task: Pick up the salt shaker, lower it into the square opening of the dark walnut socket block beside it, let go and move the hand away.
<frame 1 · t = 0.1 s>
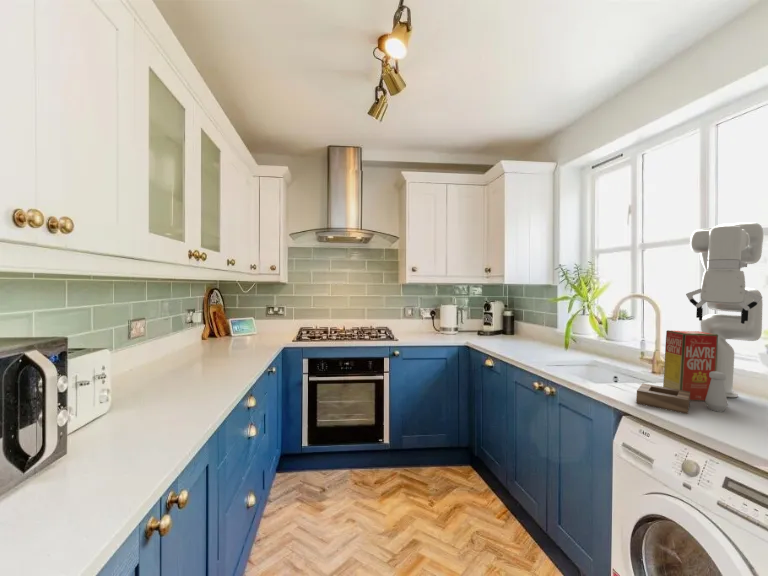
hand: (721, 321, 114), 31 cm above the worktop, tool pointing down, fingers open, 9 cm apart
food packaging: (687, 397, 141), on the worktop
socket block: (663, 405, 131), on the worktop
salt shaker: (716, 410, 126), on the worktop
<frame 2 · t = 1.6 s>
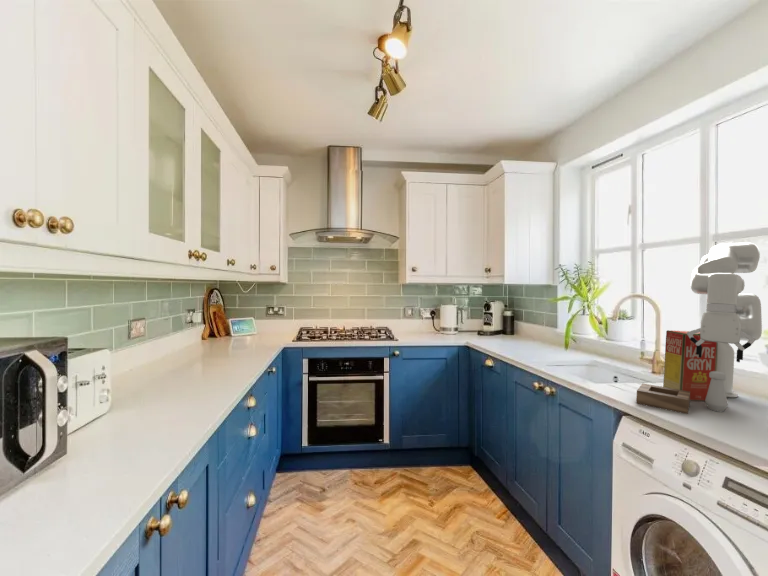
hand: (718, 359, 126), 17 cm above the worktop, tool pointing down, fingers open, 9 cm apart
nothing on the worktop moved.
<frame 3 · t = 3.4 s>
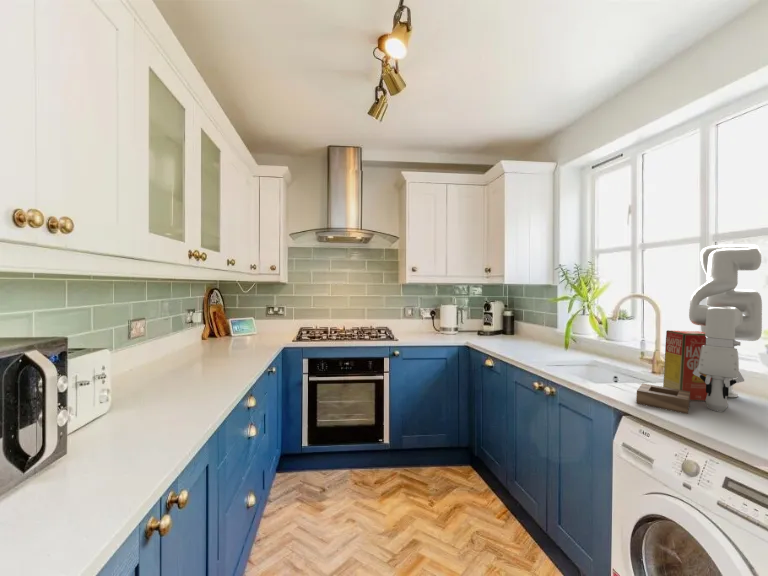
hand: (716, 396, 126), 5 cm above the worktop, tool pointing down, fingers closed on salt shaker, 3 cm apart
salt shaker: (716, 410, 126), on the worktop, touching gripper
everything else where it was.
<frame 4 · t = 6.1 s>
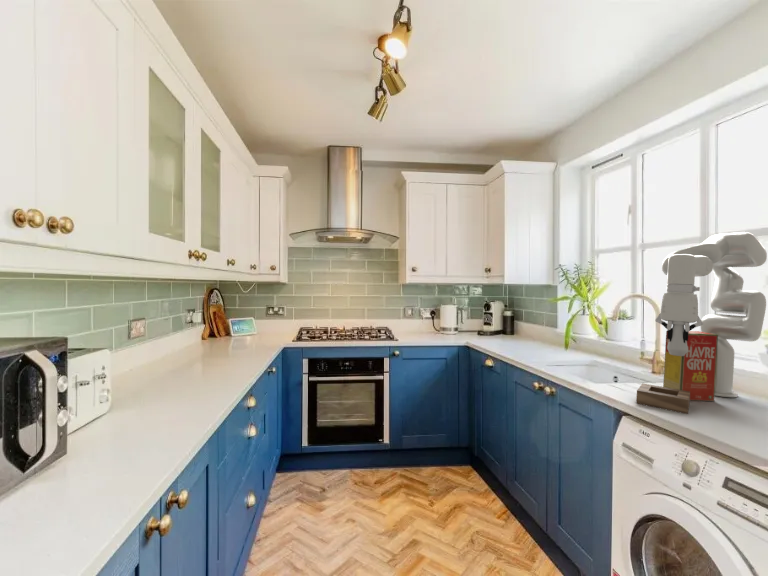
hand: (677, 341, 129), 23 cm above the worktop, tool pointing down, fingers closed on salt shaker, 3 cm apart
salt shaker: (677, 355, 129), point 18 cm above the worktop, touching gripper
everything else where it was.
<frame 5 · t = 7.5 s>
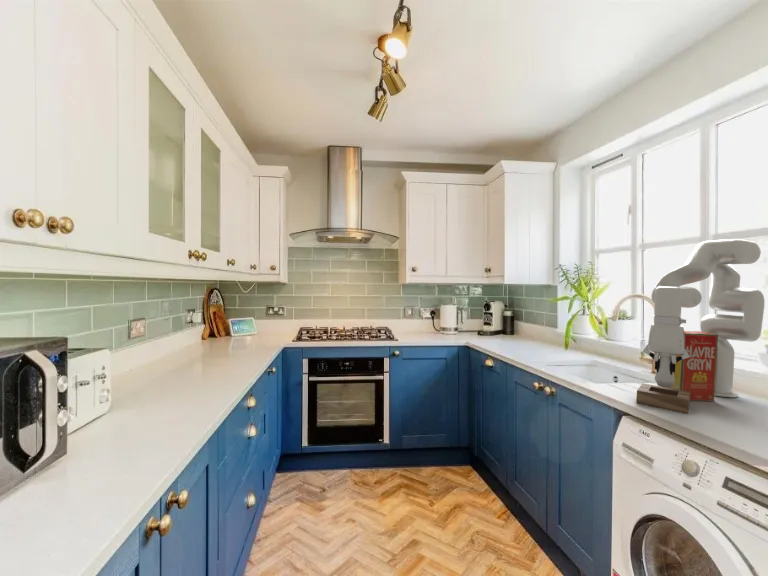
hand: (664, 372, 131), 11 cm above the worktop, tool pointing down, fingers closed on salt shaker, 3 cm apart
salt shaker: (664, 386, 131), point 6 cm above the worktop, touching gripper
everything else where it was.
when the fingers open (7 cm above the worktop, at t = 8.7 s): salt shaker drops 1 cm, resting on socket block.
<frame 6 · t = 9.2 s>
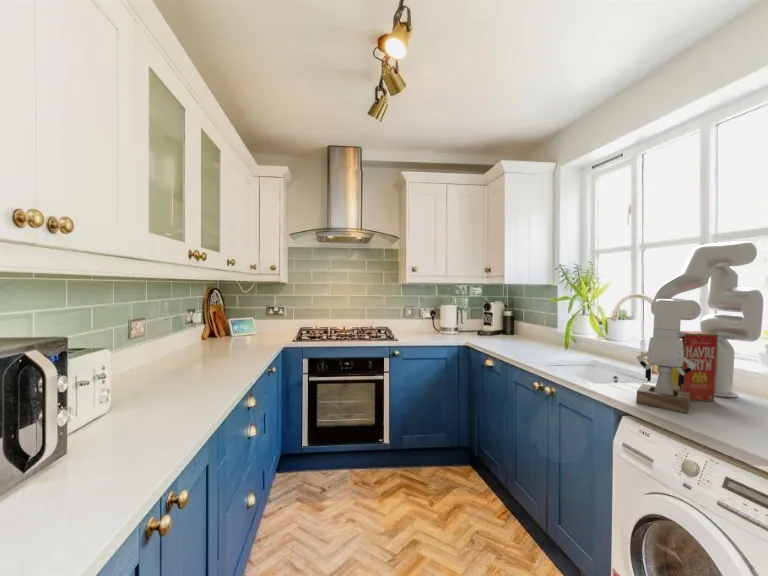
hand: (664, 382, 131), 8 cm above the worktop, tool pointing down, fingers open, 8 cm apart
socket block: (663, 405, 131), on the worktop, touching salt shaker
salt shaker: (663, 402, 131), resting on socket block
everything else where it was.
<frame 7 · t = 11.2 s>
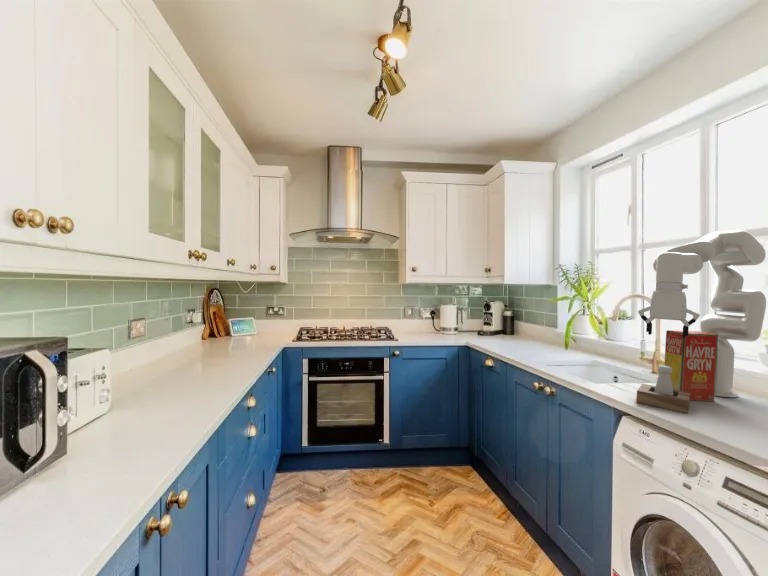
hand: (666, 335, 131), 24 cm above the worktop, tool pointing down, fingers open, 9 cm apart
nothing on the worktop moved.
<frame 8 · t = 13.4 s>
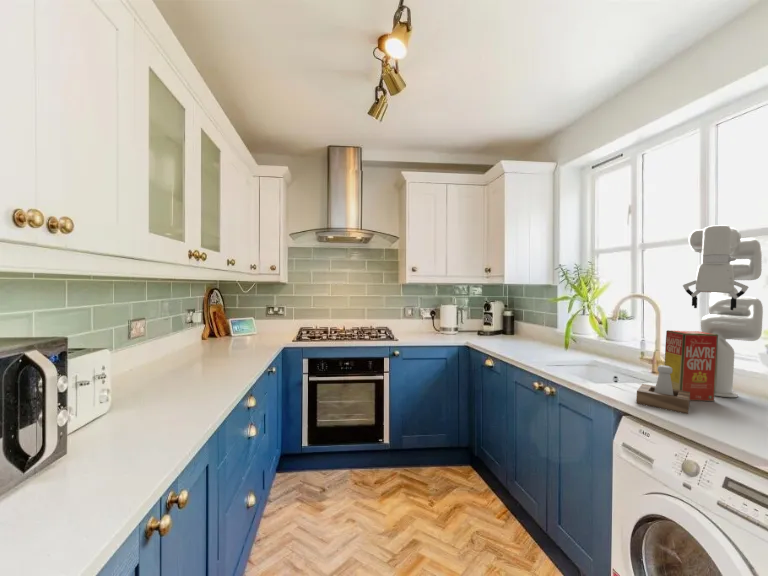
hand: (713, 309, 131), 34 cm above the worktop, tool pointing down, fingers open, 9 cm apart
nothing on the worktop moved.
at the end: salt shaker 0.4 cm off-centre on the socket block, point 0.8 cm above the socket block's base; salt shaker tilted 0°; the gripper is holding nothing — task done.
